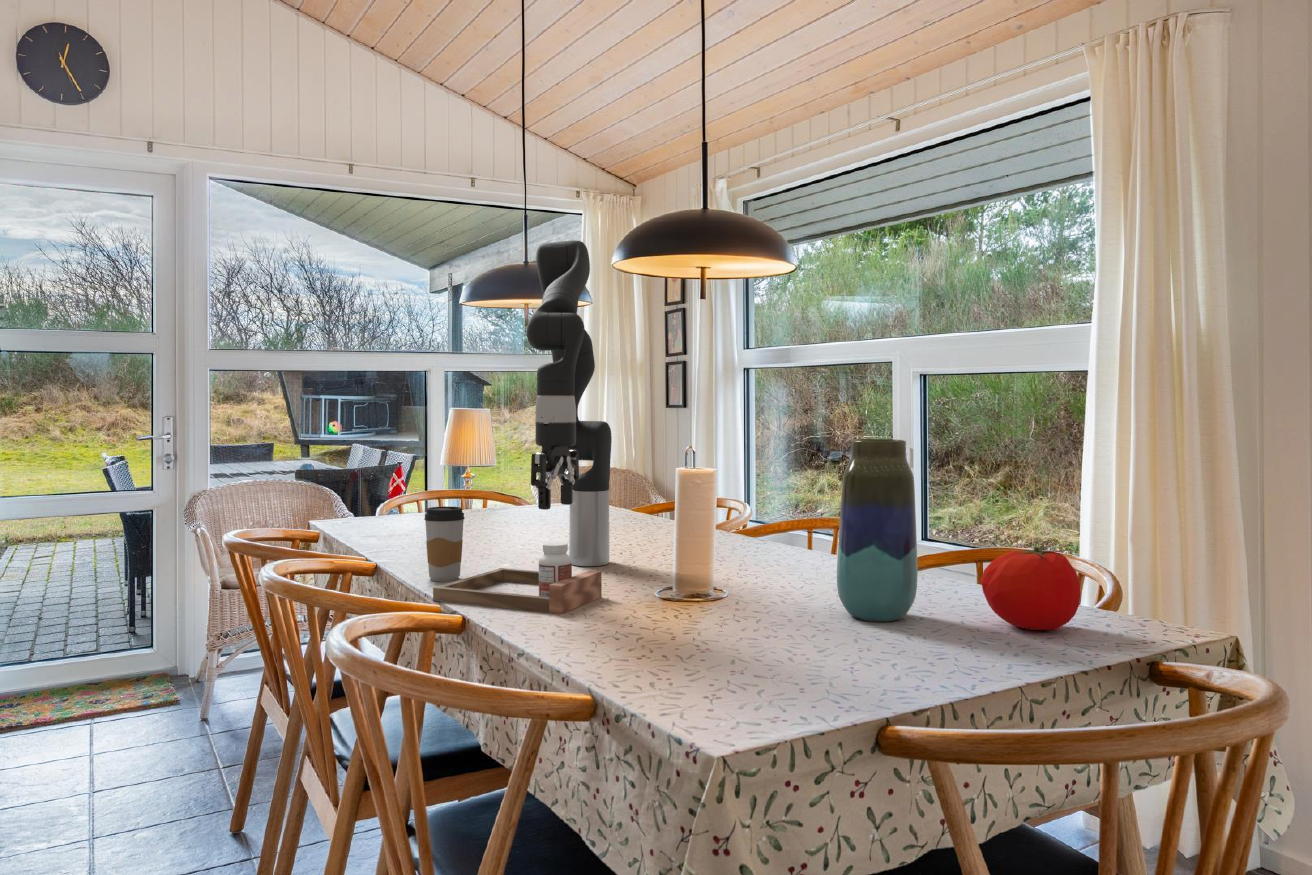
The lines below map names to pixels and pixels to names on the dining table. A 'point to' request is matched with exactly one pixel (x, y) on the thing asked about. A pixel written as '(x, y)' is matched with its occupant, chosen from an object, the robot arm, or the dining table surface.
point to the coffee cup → (444, 542)
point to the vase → (877, 532)
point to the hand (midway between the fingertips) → (555, 506)
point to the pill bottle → (553, 566)
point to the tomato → (1032, 588)
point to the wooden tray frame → (559, 601)
